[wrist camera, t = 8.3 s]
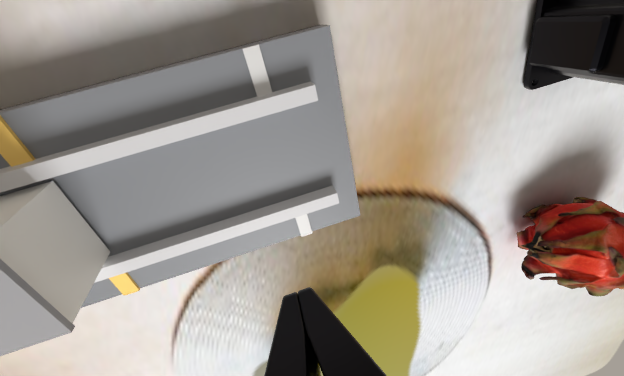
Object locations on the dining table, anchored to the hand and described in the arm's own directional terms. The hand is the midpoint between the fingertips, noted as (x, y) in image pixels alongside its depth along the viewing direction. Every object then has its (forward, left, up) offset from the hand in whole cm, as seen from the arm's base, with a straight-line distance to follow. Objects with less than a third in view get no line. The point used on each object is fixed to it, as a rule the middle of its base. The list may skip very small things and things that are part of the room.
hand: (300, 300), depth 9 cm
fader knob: (+12, 0, -10) cm, 15 cm away
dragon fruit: (-24, +16, -12) cm, 31 cm away
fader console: (+6, 0, -12) cm, 13 cm away
